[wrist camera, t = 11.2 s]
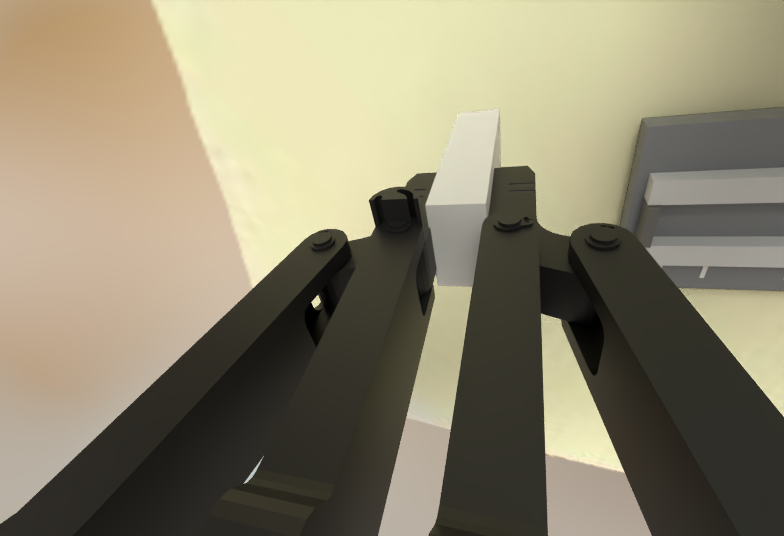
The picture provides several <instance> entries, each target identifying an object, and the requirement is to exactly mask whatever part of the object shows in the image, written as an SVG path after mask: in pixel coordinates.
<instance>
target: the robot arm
mask: <svg viewBox="0 0 784 536" xmlns="http://www.w3.org/2000/svg"><path fill="white" fill-rule="evenodd" d="M535 190H536V189H535V173H534V172H533V171H532V170H531V169H530V168H529V167H528V166H518V167H501V152H500V109H491V110H482V111H472V112H463V113H458V115H457V117H456V120H455V123H454V126H453V129H452V132H451V134H450V137H449V140H448V143H447V146H446V148H445V151H444V154H443V157H442V160H441V162H440V165H439V168H438V171H437V173H421V174H416V175H415V176H414V177H413V178H411V179H410V180H409V181H408V182H407V185H406V187H393V188H388V189H385V190H382V191H380V192H378V193H377V194H375V195H373V196H372V198H371V199H370V200H369V202H370V206H371V210H372V214H373V218H374V222H375V226H376V227H375V229H374V231H373V233H372V235H371V236H370V237H366V238H362V239H357V240H353V241H348V239H347V236H346V234H345V233H344V232H343V231H340V230H337V229H326V230H321V231H318V232H316V233H314V234H312V235H310V236H309V237H308V238H306V239H305V240H304V241H303V242H302V243H301V244H299V245H298V246H297V247H296V248H295V249H294V250H293V251H292V252H291V253H290V254H289V255H288V256H287V257H286V258H285V259H284V260H283V261H282V262H280V263H279V264H278V265H277V266H276V267H275V268H274V269H273V270H272V271H271V272H270V273H269V274H268V275H267V276H266V277H265V278H264V279H263V280H262V281H260V282H259V283H258V284H257V285H256V286H255V287H254V288H253V289H252V290H251V291H250V292H249V293H248V294H247V295H246V296H245V297H244V298H243V299H242V300H240V302H238V303H237V304H236V305H235V306H234V307H233V308H232V309H231V310H230V311H229V312H228V313H227V314H226V315H225V316H224V317H223V318H221V319H220V321H218V322H217V323H216V324H215V325H214V326H213V327H212V328H211V329H210V330H209V331H208V332H207V333H206V334H205V335H204V336H203V337H202V338H201V339H199V340H198V341H197V342H196V343H195V344H194V345H193V346H192V347H191V348H190V349H189V350H188V351H187V352H186V353H185V354H184V355H182V356H181V357H180V358H179V359H178V360H177V361H176V362H175V363H174V364H173V365H172V366H171V367H170V368H169V369H168V370H167V371H166V372H165V373H164V374H162V375H161V376H160V377H159V379H157V380H156V381H155V382H154V383H153V384H152V385H151V386H150V387H149V388H148V389H147V390H146V391H145V392H144V393H142V394H141V395H140V396H139V397H138V398H137V399H136V400H135V401H134V402H133V403H132V404H131V405H130V406H129V407H128V408H127V409H126V410H125V411H123V412H122V413H121V414H120V415H119V416H118V417H117V418H116V419H115V420H114V421H113V422H112V423H111V424H110V425H109V426H108V427H107V428H106V429H105V430H103V432H102V433H101V434H99V435H98V436H97V437H96V438H95V439H94V440H93V441H92V442H91V443H90V444H89V445H88V446H87V447H86V448H84V449H83V450H82V451H81V453H79V454H78V455H77V456H76V457H75V458H74V459H73V460H72V461H71V462H70V463H69V464H68V465H67V466H66V467H64V469H63V470H61V471H60V472H59V473H58V474H57V475H56V476H55V477H54V478H53V479H52V480H51V481H50V482H49V483H48V484H47V485H45V487H43V488H42V489H41V490H40V491H39V492H38V493H37V494H36V495H35V496H34V497H33V498H32V499H31V500H30V501H29V502H28V503H27V504H25V505H24V507H22V508H21V509H20V510H19V511H18V512H17V513H16V514H14V515H13V516H11V517H10V518H8V519H7V520H6V521H4V522H3V523H1V524H0V536H378V533H379V528H380V524H381V520H382V515H383V512H384V508H385V503H386V499H387V495H388V491H389V487H390V483H391V478H392V474H393V470H394V466H395V462H396V457H397V453H398V449H399V445H400V441H401V436H402V432H403V428H404V424H405V420H406V416H407V412H408V407H409V403H410V399H411V395H412V391H413V387H414V382H415V378H416V374H417V370H418V366H419V362H420V357H421V353H422V349H423V345H424V341H425V336H426V332H427V328H428V324H429V320H430V316H431V311H432V307H433V303H434V299H435V293H434V286H433V281H434V277H435V274H436V277H437V284H438V285H439V286H472V287H473V288H472V294H471V301H470V307H469V314H468V320H467V327H466V334H465V340H464V347H463V353H462V360H461V366H460V373H459V380H458V386H457V393H456V399H455V406H454V413H453V419H452V426H451V432H450V439H449V445H448V452H447V459H446V465H445V472H444V478H443V485H442V492H441V499H440V505H439V510H438V516H437V519H436V523H435V525H434V527H433V528H432V530H431V531H430V533H429V536H548V528H547V496H546V464H545V432H544V400H543V368H542V336H541V313H542V314H545V315H548V316H552V317H555V318H559V319H561V322H562V327H563V329H564V332H565V334H566V336H567V339H568V341H569V343H570V346H571V348H572V350H573V353H574V355H575V357H576V360H577V362H578V364H579V367H580V369H581V371H582V374H583V376H584V378H585V381H586V383H587V385H588V388H589V390H590V392H591V395H592V397H593V399H594V402H595V404H596V406H597V409H598V411H599V413H600V416H601V418H602V420H603V423H604V425H605V427H606V430H607V432H608V434H609V437H610V439H611V441H612V444H613V446H614V448H615V451H616V453H617V455H618V458H619V460H620V462H621V465H622V467H623V469H624V472H625V474H626V476H627V479H628V481H629V483H630V485H631V488H632V490H633V492H634V495H635V497H636V499H637V502H638V504H639V506H640V509H641V511H642V514H643V516H644V518H645V521H646V523H647V525H648V527H649V530H650V532H651V535H652V536H784V417H783V415H782V414H781V413H780V412H779V411H778V409H777V408H776V407H775V406H774V404H773V403H772V402H771V401H770V400H769V398H768V397H767V396H766V395H765V393H764V392H763V391H762V390H761V389H760V387H759V386H758V385H757V384H756V383H755V381H754V380H753V379H752V378H751V376H750V375H749V374H748V373H747V372H746V370H745V369H744V368H743V367H742V365H741V364H740V363H739V362H738V361H737V359H736V358H735V357H734V356H733V354H732V353H731V352H730V351H729V350H728V348H727V347H726V346H725V345H724V343H723V342H722V341H721V340H720V339H719V337H718V336H717V335H716V334H715V333H714V331H713V330H712V329H711V328H710V326H709V325H708V324H707V323H706V322H705V320H704V319H703V318H702V317H701V315H700V314H699V313H698V312H697V311H696V309H695V308H694V307H693V306H692V304H691V303H690V302H689V301H688V300H687V298H686V297H685V296H684V295H683V293H682V292H681V291H680V290H679V289H678V287H677V286H676V285H675V284H674V282H673V281H672V280H671V279H670V278H669V276H668V275H667V274H666V273H665V272H664V270H663V269H662V268H661V267H660V265H659V264H658V263H657V262H656V261H655V259H654V258H653V257H652V256H651V254H650V253H649V252H648V251H647V250H646V248H645V247H644V246H643V245H642V243H641V242H640V241H639V240H638V239H637V237H636V236H635V235H634V234H632V233H631V232H630V231H629V230H627V229H625V228H622V227H620V226H617V225H612V224H606V223H595V224H588V225H584V226H581V227H579V228H578V229H576V230H574V231H573V232H572V234H571V236H570V237H569V236H563V235H559V234H555V233H552V232H550V231H547V230H546V229H544V228H543V227H541V226H540V224H539V223H538V222H537V218H536V191H535ZM317 295H318V296H319V298H320V301H321V303H320V304H319V305H318V306H317V307H315V308H314V307H313V305H312V303H311V302H312V301H313V300H314V298H315V297H316V296H317ZM263 456H264V457H263ZM262 457H263V459H262ZM261 459H262V461H261V463H260V465H259V467H258V469H257V471H256V472H255V474H254V476H253V477H252V478H251V479H250V480H249V481H248V482H247V483H245V484H243V483H244V482H245V481H246V479H247V478H248V477H249V475H250V474H251V472H252V471H253V469H254V468H255V467H256V466H257V464H258V463H259V461H260V460H261Z"/></svg>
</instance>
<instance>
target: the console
mask: <svg viewBox="0 0 784 536" xmlns="http://www.w3.org/2000/svg"><path fill="white" fill-rule="evenodd" d="M620 227H622V228H625V229H627V230H629V231H630V232H631V233H632V234H634V235H635V236H636V237H637V239H638V240H639V241H640V242H641V243H642V245H643V246H644V247H645V248H646V250H647V251H648V252H649V253H650V254H651V256H652V257H653V258H654V259H655V261H656V262H657V263H658V264H659V265H660V267H661V268H662V269H663V270H664V272H665V273H666V274H667V275H668V276H669V278H670V279H671V280H672V281H673V282H674V284H675V285H676V286H677V287H679V288H709V289H740V290H770V291H784V107H778V108H766V109H753V110H741V111H728V112H716V113H703V114H690V115H678V116H665V117H653V118H643V119H642V123H641V128H640V133H639V137H638V142H637V147H636V152H635V156H634V161H633V166H632V170H631V175H630V180H629V184H628V189H627V194H626V199H625V203H624V208H623V213H622V217H621V222H620Z"/></svg>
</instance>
